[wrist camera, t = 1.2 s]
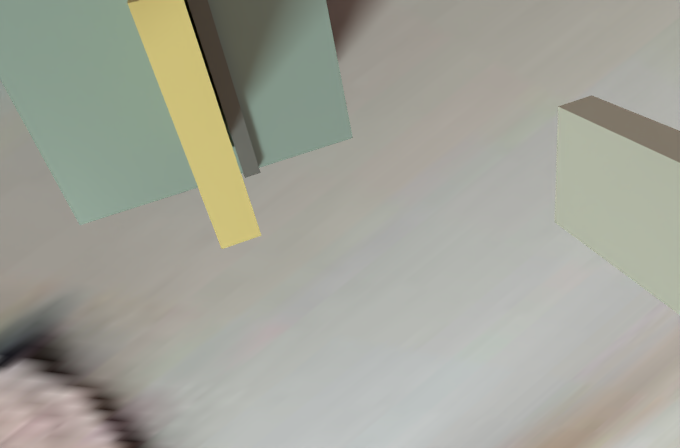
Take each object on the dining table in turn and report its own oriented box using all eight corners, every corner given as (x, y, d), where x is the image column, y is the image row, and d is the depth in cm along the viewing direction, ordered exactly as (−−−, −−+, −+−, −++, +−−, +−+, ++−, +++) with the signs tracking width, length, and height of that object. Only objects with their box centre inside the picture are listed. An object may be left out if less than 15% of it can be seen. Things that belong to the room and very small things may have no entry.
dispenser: (90, 162, 33) (79, 231, 26) (-18, -56, 26) (-73, -45, 19) (311, 95, 35) (356, 141, 28) (262, -120, 29) (304, -130, 22)
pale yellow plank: (185, 108, 32) (221, 248, 18) (130, -42, 27) (127, 3, 14) (208, 101, 32) (261, 235, 19) (158, -48, 27) (180, -10, 14)
